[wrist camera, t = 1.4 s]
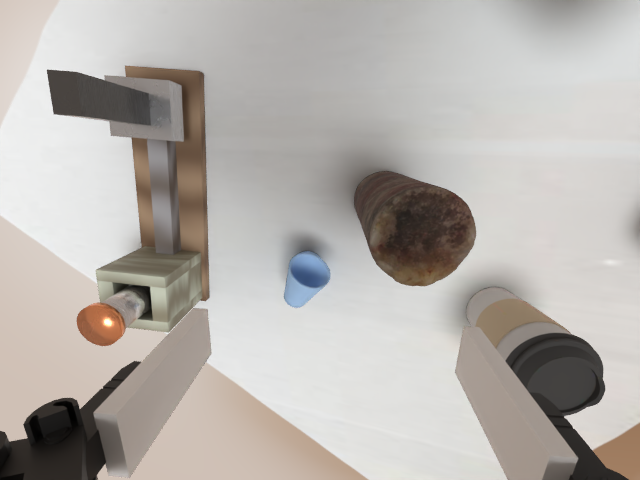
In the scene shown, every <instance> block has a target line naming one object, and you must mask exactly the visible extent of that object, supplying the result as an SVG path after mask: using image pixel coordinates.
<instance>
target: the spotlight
mask: <svg viewBox="0 0 640 480" xmlns="http://www.w3.org/2000/svg"><path fill="white" fill-rule="evenodd" d="M329 280H330V270H329V268H328V266H327V265H326V263H325V262H324V261H323V260H322V259H321V258H320V257H319V256H318V255H317V254H316V253H314V252H310V251H304V252H301V253H299V254H297V255H296V256H294V257H293V258H292V259H291V261H290V263H289V269H288V275H287V281H286V287H285V293H284V299H285V301H286V303H287V304H288V305H290V306H292V307H296V308H298V307H302V306H303V305H304V304H305V303H306V302H308V301H309V300H310V299H311V298H312V297H313V296H314V295H315V294H316V293H318V292H319V291H320V290H321V289H322V288H323V287H324V286H325V285H326V284H327V283H328V282H329Z"/></svg>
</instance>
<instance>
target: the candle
mask: <svg viewBox="0 0 640 480" xmlns="http://www.w3.org/2000/svg"><path fill="white" fill-rule="evenodd" d="M354 205H355V209H356V212H357V215H358V218H359V220H360V223H361V225H362V229H363V231H364V234H365V237H366V240H367V243H368V246H369V249H370V252H371V254H372V257H373V259H374V260H375V262H376V264H377V265H378V266H379V267H380V268H381V269H382V270H383V271H384V272H385V273H387V274H388V275H389V276H391V277H392V278H393V279H394V280H395V281H396V282H399V283H401V284H404V285H409V286H427V285H430V284H433V283H435V282H436V281H438V280H441V279H443V278H445V277H447V276H448V275H450V274H451V273H452V272H453V271H455V270H456V269H457V267H458V266H459V264H460V263H461V262H462V261H463V260H464V258H465V257H466V256H467V255H468V253H469V252H470V250H471V249H472V247H473V245H474V241H475V238H476V228H475V222H474V218H473V216H472V214H471V211H470V209H469V207H468V205H467V204H466V203H465V202H464V201H463V200H462V198H460V197H459V196H457V195H456V194H455V193H453V192H451V191H449V190H447V189H444V188H441V187H438V186H434V185H431V184H428V183H424V182H421V181H418V180H415V179H412V178H409V177H407V176H404V175H401V174H398V173H394V172H389V171H382V172H377V173H374V174H372V175H370V176H368V177H367V178H365V179H364V180H363V181H362V182H361V183H360V184H359V186H358V187H357V190H356V192H355V197H354Z"/></svg>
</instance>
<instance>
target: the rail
mask: <svg viewBox="0 0 640 480" xmlns="http://www.w3.org/2000/svg"><path fill="white" fill-rule="evenodd" d="M125 71H126V77H132V78H145V79H158V80H169V81H172V82H174V83H177V84H179V85H181V88H182V110H183V132H184V142H182V141H168V140H156V139H144V138H133V137H132V147H133V158H134V169H135V179H136V190H137V201H138V212H139V222H140V233H141V244H142V248H140V249H138V250H136V251H134V252H132V253H130V254H128V255H126V256H124V257H122V258H120V259H117V260H115V261H113V262H111V263H109V264H107V265H105V266H103V267H101V268H99V269H97V270H96V277H97V284H98V289H99V290H98V291H99V298H100V303H102V302H103V301H105V300H107V299H108V298H110V297H111V296H113V295H115V294H116V293H118V292H119V291H121V290H123V289H124V288H126V287H127V286H129V285H131V284H132V285H141V286H150V292H151V304H152V307H151V308H150V309H149V310H148V311H146V312H145V313H144V314H143V315H142V316H140V317H139V318H138V319H137V320H135V321H134V322H133V323H132V324H130V325H129V326H128V328H136V329H144V330H153V331H161V332H170V331H171V330H172V328H173V327H174V326H175V325H176V324H177V323H178V322H179V321H180V320H181V319H182V318H183V317H184V316H185V315H186V314H187V313H188V312H189V311H190V310H191V309H192V308H193V307H194V306H195V305H196V304H197V303H198V302H199V301H200V300H201V301H206V300H207V299H208V298H209V265H208V226H207V188H206V149H205V111H204V74H203V73H201V72H199V71H189V70H175V69H162V68H148V67H135V66H125Z"/></svg>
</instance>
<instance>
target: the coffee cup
mask: <svg viewBox="0 0 640 480" xmlns="http://www.w3.org/2000/svg"><path fill="white" fill-rule="evenodd" d="M466 315H467V318H468V321H469V322H470V324H471V326H472V327H480V328H481V330H482V331H483V332H484V334H485V335H486V336H487V338H488V339H489V340H490V342H491V343H492V344H493V346H494V347H495V348H496V350H497V351H498V352H499V354H500V355H501V356H502V358H503V359H504V360H505V362H506V363H507V364H508V366H509V367H510V368H511V369H512V371H513V372H514V373H515V375H516V376H517V377H518V379H519V380H520V381H521V383H522V384H523V385H524V387H525V388H526V389H527V391H528V392H534V393H541V394H542V395H543V396H544V397H546V398H547V399H548V400H550V401H551V402H552V403H553V404H555V406H556V407H557V408H558V409H559V411H560V412H561V413H562V414H563V415H564V416H566V415H571V414H574V413H577V412H579V411H581V410H583V409H585V408H586V407H589V406H593V405H596V404H597V403H599V402H600V400H601V399H602V397H603V395H604V392H605V384H604V381H603V364H602V361H601V359H600V357H599V355H598V354H597V352H596V351H595V350H594V349H593V348H592V347H591V345H590V344H589V343H587V342H586V341H585V340H583V339H581V338H579V337H577V336H574V335H572V334H571V333H570V332H569V331H568V330H567V329H565V328H564V327H563V326H561V325H560V324H558V323H557V322H555V321H554V320H552V319H551V318H549V317H548V316H546V315H545V314H543V313H542V312H540V311H539V310H537V309H536V308H534V307H533V306H531V305H530V304H528V303H527V302H525V301H522V300H521V299H519V298H518V297H516V296H515V295H513V294H512V293H510V292H509V291H507V290H505V289H503V288H499V287H490V288H486V289H483V290H481V291H479V292H477V293H476V294H475V295H474V296H473V297H472V298H471V299H470V301H469V303H468V305H467V309H466Z"/></svg>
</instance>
